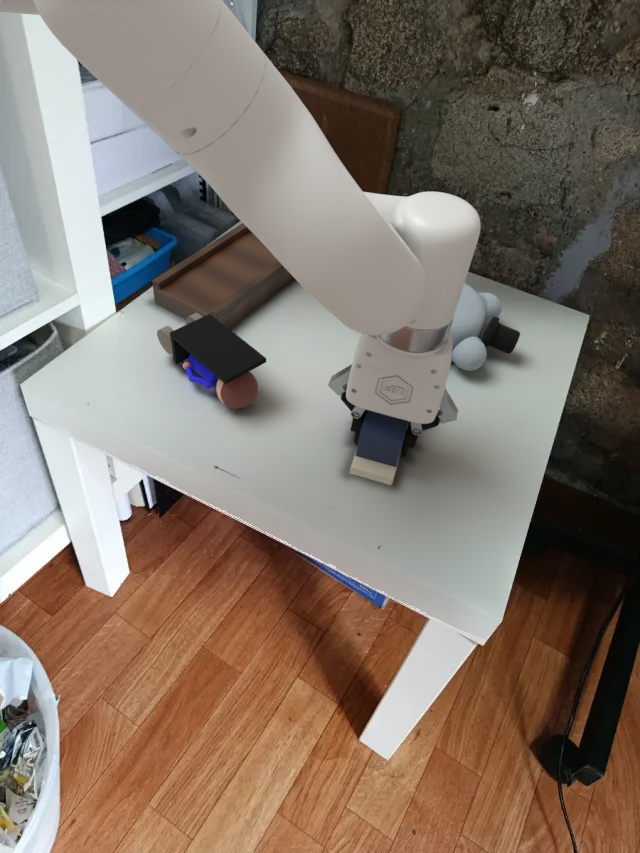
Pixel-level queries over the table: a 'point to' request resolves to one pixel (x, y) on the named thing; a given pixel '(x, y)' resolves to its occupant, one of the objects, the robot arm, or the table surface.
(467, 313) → the figurine
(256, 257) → the brown wooden tray
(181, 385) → the table surface
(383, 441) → the blue milk carton
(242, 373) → the figurine character
